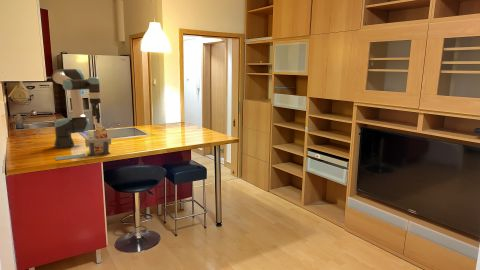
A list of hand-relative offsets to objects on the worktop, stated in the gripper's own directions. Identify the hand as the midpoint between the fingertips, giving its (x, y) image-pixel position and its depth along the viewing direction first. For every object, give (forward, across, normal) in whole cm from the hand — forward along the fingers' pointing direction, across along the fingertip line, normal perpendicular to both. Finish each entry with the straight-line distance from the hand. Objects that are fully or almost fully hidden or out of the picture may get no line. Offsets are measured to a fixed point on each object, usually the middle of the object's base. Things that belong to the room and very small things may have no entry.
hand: (96, 125), depth 257 cm
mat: (+22, 0, -20) cm, 30 cm away
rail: (+16, 0, 0) cm, 16 cm away
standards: (+22, 0, 0) cm, 23 cm away
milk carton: (+23, -16, +5) cm, 28 cm away
